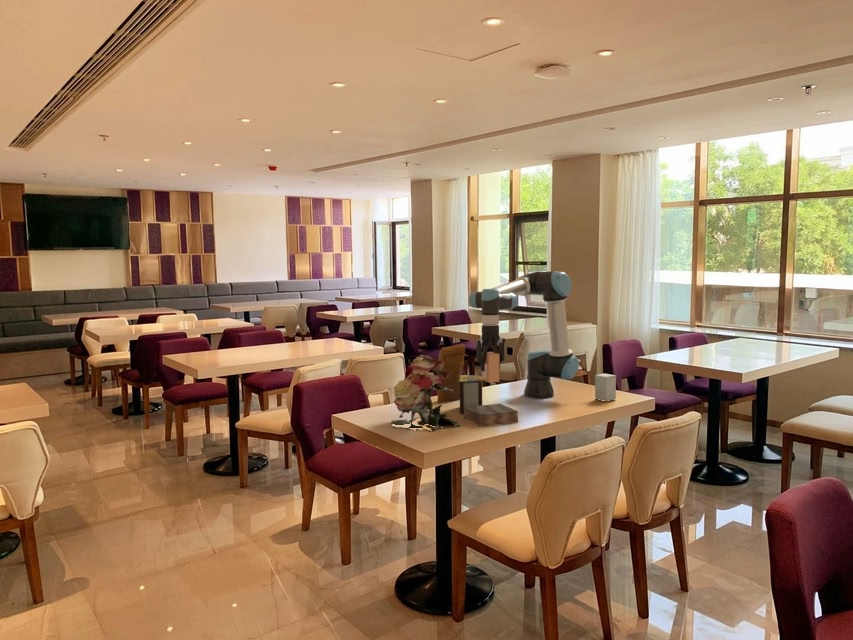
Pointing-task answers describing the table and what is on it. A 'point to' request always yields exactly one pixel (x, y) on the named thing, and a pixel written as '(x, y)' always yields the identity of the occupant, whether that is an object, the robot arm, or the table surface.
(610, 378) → the supplement box
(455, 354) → the pancake mix bag
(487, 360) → the carton
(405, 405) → the rose bouquet
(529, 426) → the table surface
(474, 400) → the protein box
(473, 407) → the display podium
